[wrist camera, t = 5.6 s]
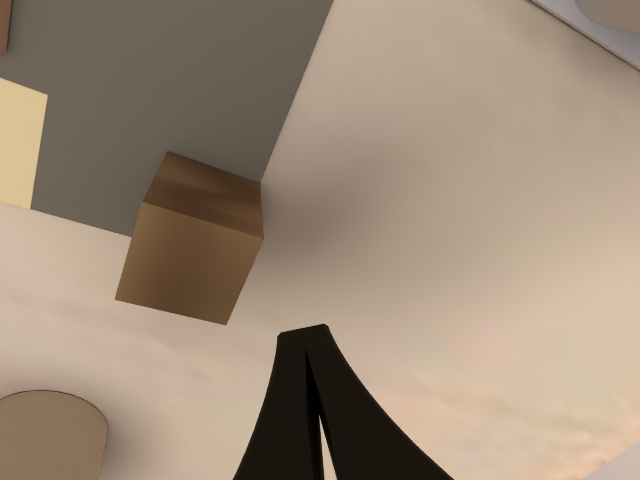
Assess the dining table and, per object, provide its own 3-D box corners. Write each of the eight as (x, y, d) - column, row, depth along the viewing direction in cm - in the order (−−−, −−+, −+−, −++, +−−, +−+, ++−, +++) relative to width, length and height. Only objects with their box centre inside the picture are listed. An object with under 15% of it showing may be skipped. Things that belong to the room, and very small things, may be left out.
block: (259, 182, 19) (263, 239, 14) (230, 255, 20) (226, 325, 16) (167, 150, 17) (142, 201, 13) (144, 230, 19) (114, 299, 15)
